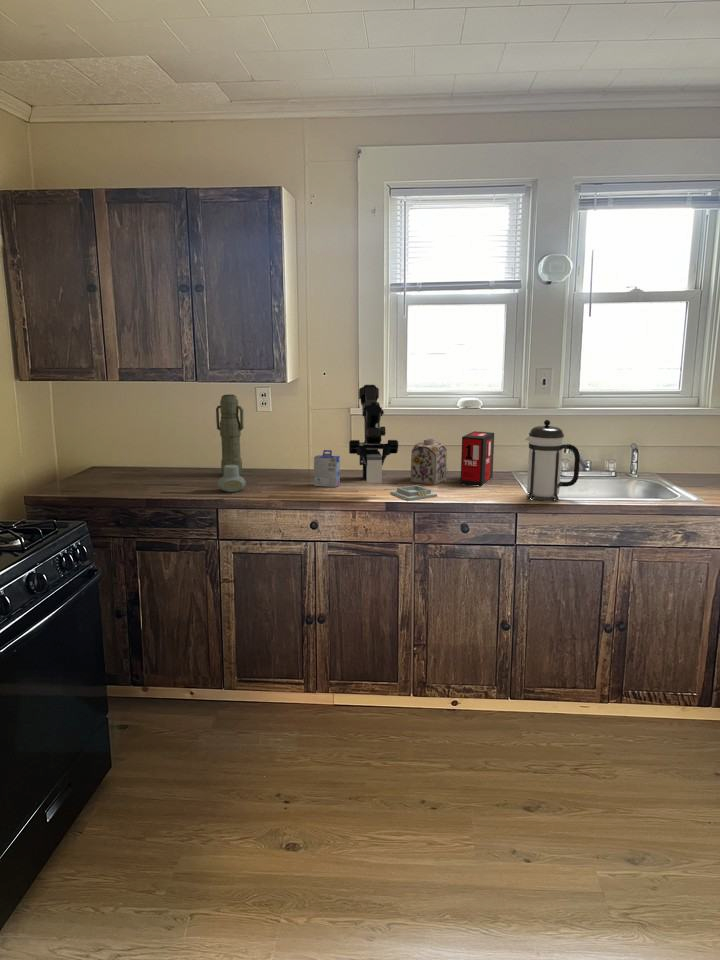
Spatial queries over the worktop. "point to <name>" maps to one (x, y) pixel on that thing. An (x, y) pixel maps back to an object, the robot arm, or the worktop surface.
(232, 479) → the air freshener
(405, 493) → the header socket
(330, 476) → the ink cartridge box
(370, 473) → the block
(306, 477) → the worktop surface
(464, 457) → the cleaning product box
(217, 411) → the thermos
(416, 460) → the decorative jar
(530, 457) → the coffee press
